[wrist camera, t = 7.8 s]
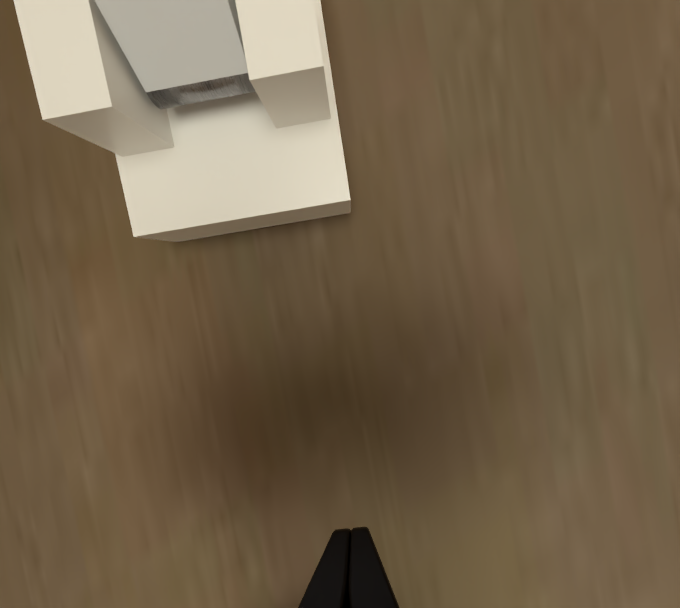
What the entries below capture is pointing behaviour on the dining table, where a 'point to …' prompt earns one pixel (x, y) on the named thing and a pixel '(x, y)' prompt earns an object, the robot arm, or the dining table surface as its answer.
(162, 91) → the lever
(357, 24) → the dining table surface
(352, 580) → the robot arm
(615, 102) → the dining table surface
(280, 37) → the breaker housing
